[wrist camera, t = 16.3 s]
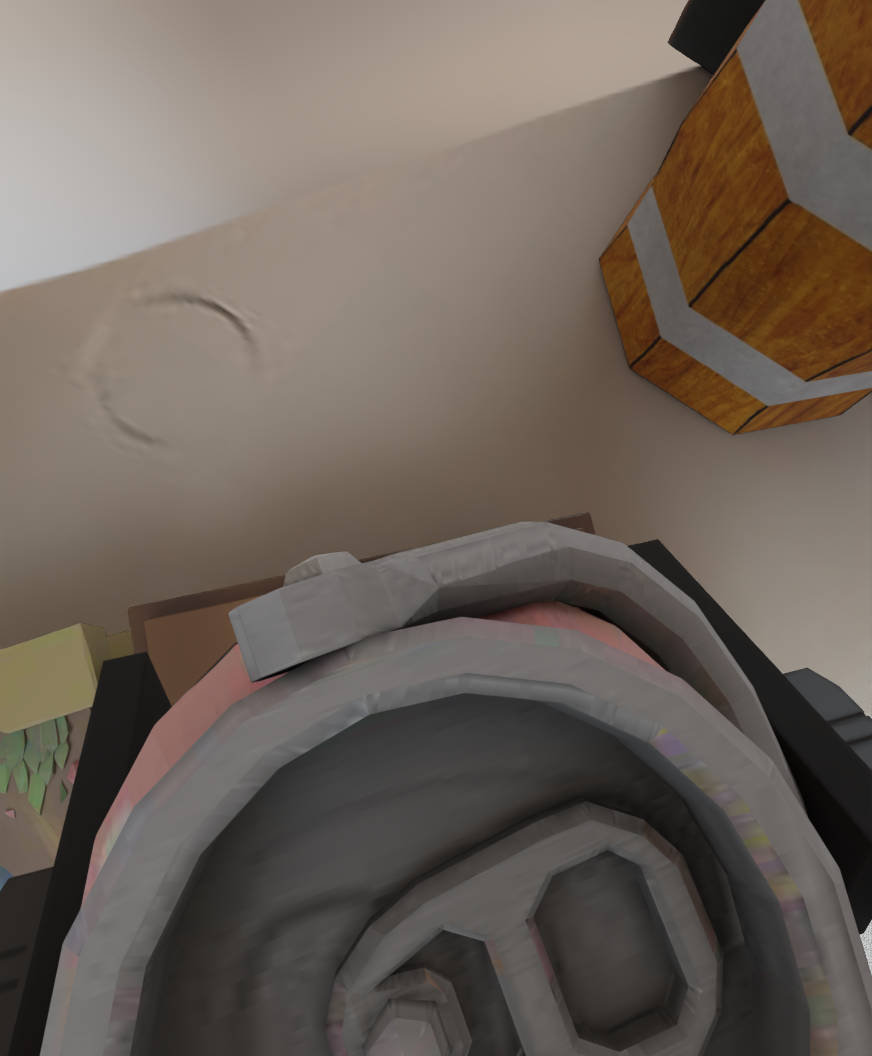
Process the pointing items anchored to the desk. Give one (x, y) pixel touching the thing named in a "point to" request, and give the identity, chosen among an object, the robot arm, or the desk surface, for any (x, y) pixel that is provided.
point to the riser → (217, 624)
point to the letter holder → (712, 29)
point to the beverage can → (465, 831)
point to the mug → (761, 229)
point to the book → (45, 736)
